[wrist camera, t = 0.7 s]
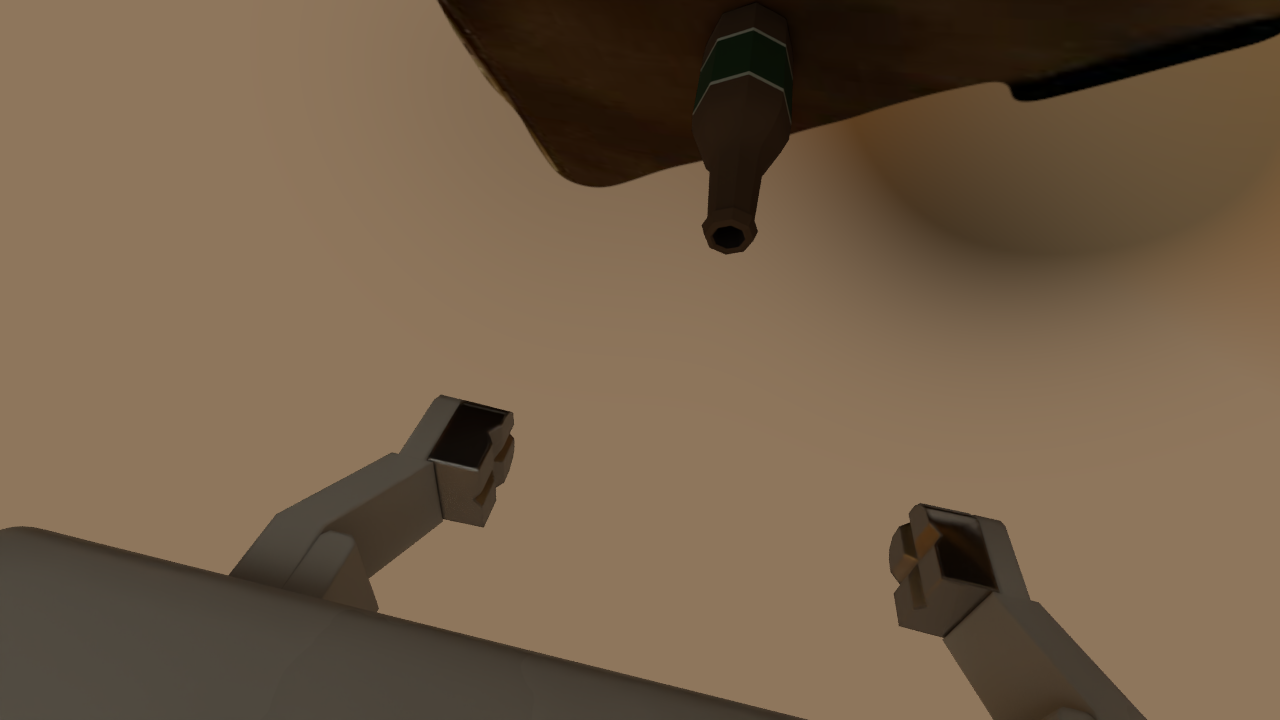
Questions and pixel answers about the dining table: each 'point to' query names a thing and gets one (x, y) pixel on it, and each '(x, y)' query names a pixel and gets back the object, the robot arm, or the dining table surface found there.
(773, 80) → the beer bottle
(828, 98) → the dining table surface
